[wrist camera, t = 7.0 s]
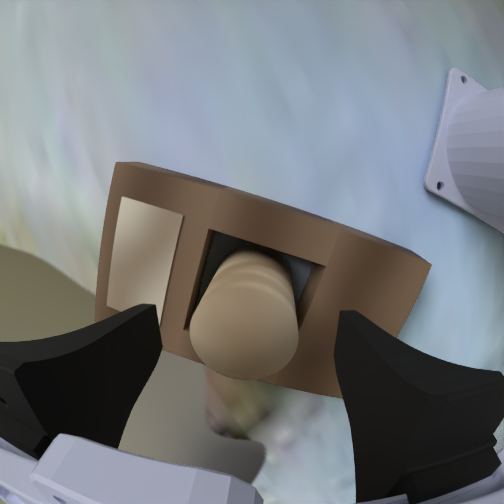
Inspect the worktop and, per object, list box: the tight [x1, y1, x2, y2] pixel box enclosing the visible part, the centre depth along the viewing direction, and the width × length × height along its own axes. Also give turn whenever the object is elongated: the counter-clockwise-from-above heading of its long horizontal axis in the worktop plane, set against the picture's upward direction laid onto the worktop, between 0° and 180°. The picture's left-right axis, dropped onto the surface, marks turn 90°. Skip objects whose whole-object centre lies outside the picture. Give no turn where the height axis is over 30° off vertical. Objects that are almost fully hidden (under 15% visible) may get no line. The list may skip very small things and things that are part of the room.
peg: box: [190, 244, 299, 380], centre depth 13 cm, size 4×4×6 cm
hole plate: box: [95, 162, 432, 399], centre depth 15 cm, size 16×9×3 cm, turn 73°
